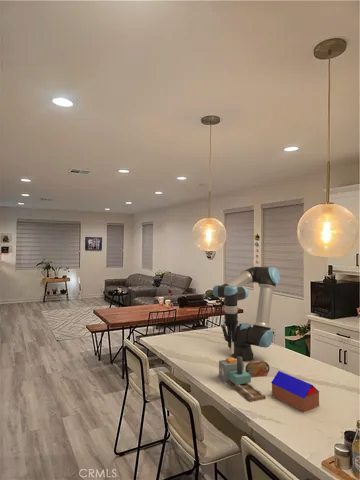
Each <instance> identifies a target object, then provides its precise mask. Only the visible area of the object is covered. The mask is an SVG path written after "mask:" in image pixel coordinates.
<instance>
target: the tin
mask: <svg viewBox="0 0 360 480" xmlns="http://www.w3.org/2000/svg"><path fill="white" fill-rule="evenodd" d="M244 371H246V372H247V373H249V374H250V375H251V378H259V377H265V376H267V375H268V374H269V372H270V364H269V363H268V362H266V361H264V360H257V361H250V362H248V363H247V364H246V365H245V367H244Z"/></svg>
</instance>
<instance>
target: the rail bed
mask: <svg viewBox="0 0 360 480" xmlns="http://www.w3.org/2000/svg"><path fill="white" fill-rule="evenodd" d="M228 384H229V386H231V388H233V389H235V390H236V392H238V393H239V394H241V395H242V396H243V397H244V398H245V399H246V400H247V401H248V402H250V403H251V402H256V401H260V400H265V399H266V397H267V396H266V395H265V393H263V392H262V391H261V390H259V389H258V388H256V386H253V385H252V384H251V383H245V384H239V385H236V384H235V383H233V382H232V381H231V380H230V381H229V383H228Z"/></svg>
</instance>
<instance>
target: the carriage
mask: <svg viewBox="0 0 360 480" xmlns="http://www.w3.org/2000/svg"><path fill="white" fill-rule="evenodd" d="M243 363H244V361H243V360H242V357H241V356H237V371H232V372H229V379H230V380H231V381H232V382H233V383H235V384H236V385H239V384H245V383H250V384H251V383H252V377H251V375H250V374H249V373H247V372H246V370H245V369H244V370H243Z"/></svg>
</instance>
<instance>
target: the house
mask: <svg viewBox="0 0 360 480" xmlns="http://www.w3.org/2000/svg"><path fill="white" fill-rule="evenodd" d="M270 383H271V396H272V397H274V398H276V399H278V400H280V401H281V402H284V403H285V404H288V405H289V406H291V407H294V408H295V409H297V410H300V411H301V412H303V413H305V412H308V411H310V410H312V409H314V408H317V407H319V406H320V391H319V390H318V389H317V388H316V386H314V385H313V384H311V383H308V382H307V381H304V380H302V379H299V378H297V377H295V376H292V375H290V374H287V373H285V372H283V371H280V370H278V371H277V373H276V375H274V377H273V379H272V380H271V382H270Z"/></svg>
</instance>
